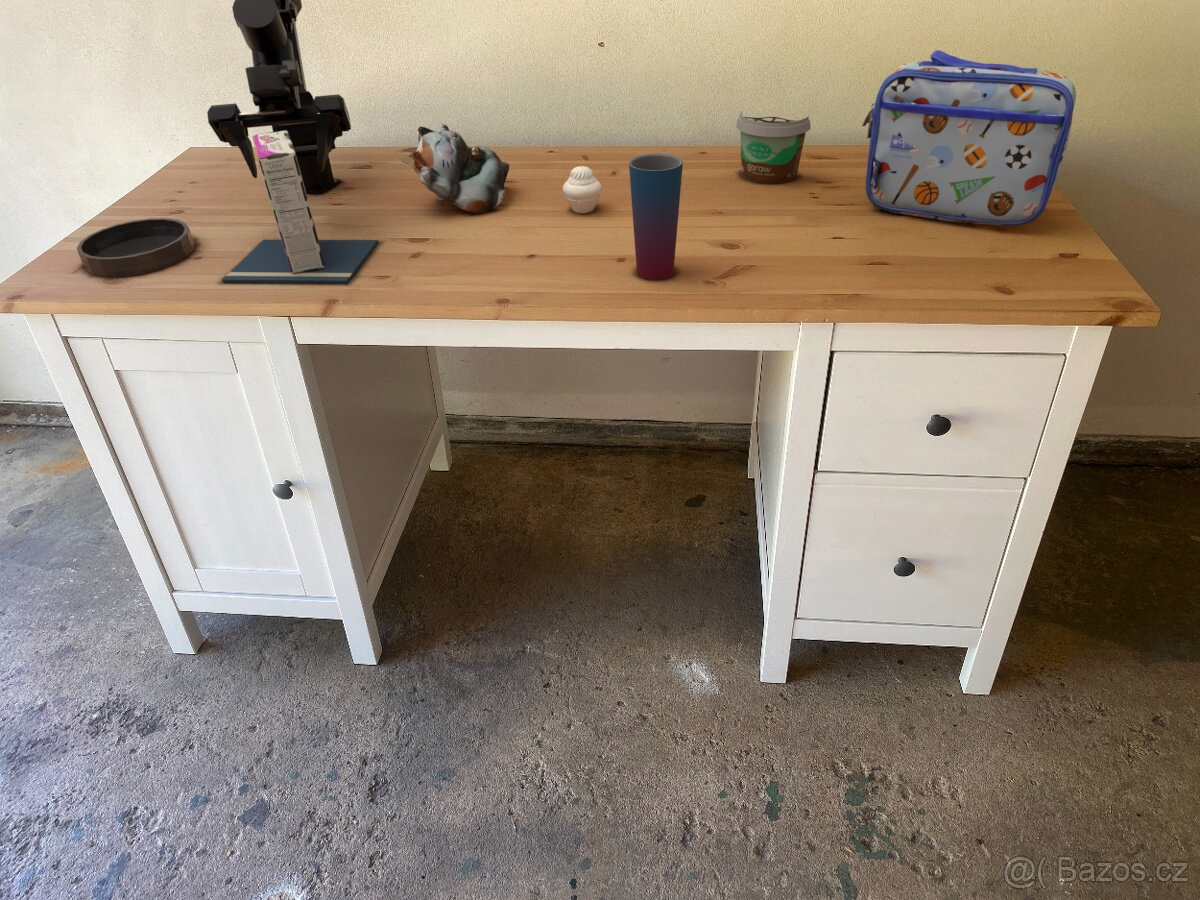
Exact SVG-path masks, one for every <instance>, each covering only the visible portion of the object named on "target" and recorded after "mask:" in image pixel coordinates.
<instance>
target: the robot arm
mask: <svg viewBox="0 0 1200 900" xmlns="http://www.w3.org/2000/svg"><path fill="white" fill-rule="evenodd" d="M302 3H303V2H302V0H234V1H233V5H232V6H231V7H232V9H231V10H232V13H233V19H234V21H235V24H236V25H237V28H239V30H240V32H241V34H242V37H243V39H244V41H245V44H246V45H247V47H248V48H249V49H250V50H251V57H252V65H253V66H247V67H246V68H245V74H246V79H247V85H248V89H249V94H251V97H252V102H253V104H254V106H255V107H258V111H251V112H241V110H240V108H239V106H238V104H237V103H236V102H235V103H227V104H226V103H224V104H223V103H222V104H215V105H214V104H213V105H210V106H209V108H208V110H207V112H206V113H207V121H208V124H209V126H210V127H211V129H212V130H213V133H214V134H215V135H216V136H217V138H218V140H219V141H220V142H221V143H222V142H223V143H225V144H226V143H228V145H229V146H230V147H234V148H235V147H237V148H238V149H239V151H240V152H241V155H242V157H243V159H244V161H245V163H246V165H247V167H248V169H249V171H250V173H251V175H252V177H253V179H257V178H258V168H257V164H256V159H255V153H254V149H253V143H252V141H251V139H250V137H249V136H250V135H249V128H259V127H261V128H262V127H271V129H272V132H277V131H286V130H287V132H288V134H289V136H290V139H291V142H292V145H293V148H294V151H295V154H296V158H297V161H298V165H299V169H300V172H301V176H302V180H303V184H304V187H305V191H306V193H308V194H309V193H310V194H322V193H324V192H325V191H327V190H328V189H330V188H332V187H334V186H337V184H340V182H341V178H336V177H334V174H333V168H332V165H331V161H330V156H329V154H330V153H331V152H332V151H333V150H335V149H336V143H335V142H336V139H337V138H340V137H343V135H344V132H349V131H351V129H352V126H351V117H350V114H349V110H348V108H347V104H346V102H345V99H344V97H343V96H341V95H340V94H327V95H326V94H325V95H315V96H313V94H312V93H311V92H310V91H309V90H307V84H306V77H305V71H304V66H303V59H302V55H301V49H300V42H299V35H298V30H297V25H296V24H297V18H298V15H299V14H300V12H301V11H302V8H303V4H302Z"/></svg>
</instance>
